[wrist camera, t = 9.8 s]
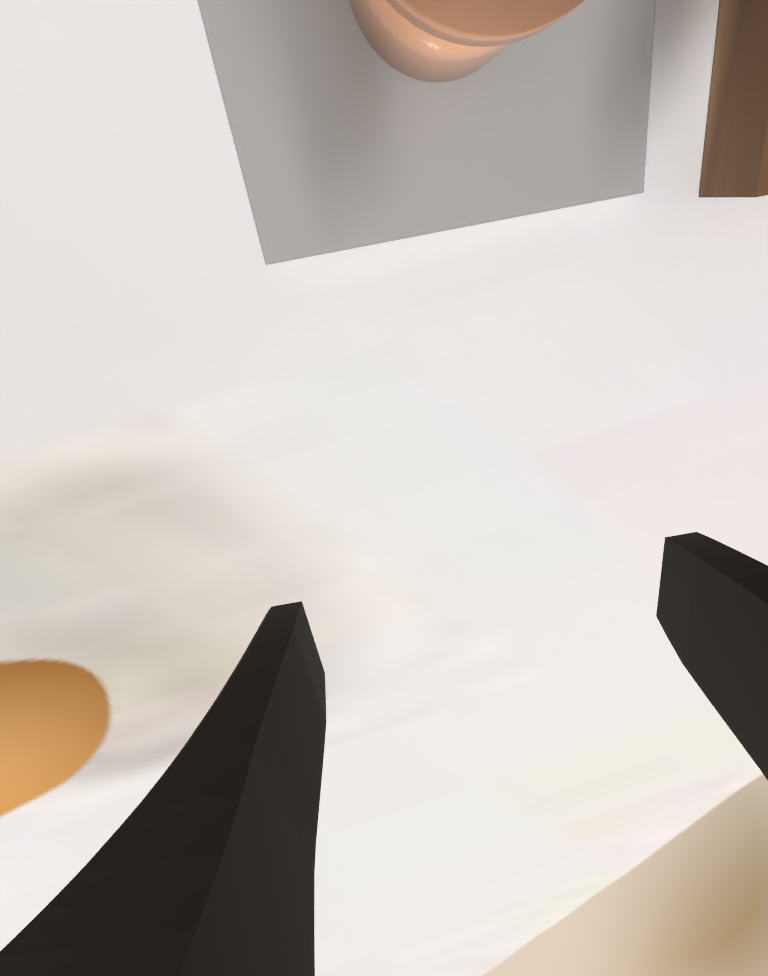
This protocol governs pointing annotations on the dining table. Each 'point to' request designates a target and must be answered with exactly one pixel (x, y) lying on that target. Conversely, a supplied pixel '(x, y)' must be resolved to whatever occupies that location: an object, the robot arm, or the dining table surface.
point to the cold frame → (738, 104)
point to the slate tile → (424, 123)
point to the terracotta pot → (451, 31)
